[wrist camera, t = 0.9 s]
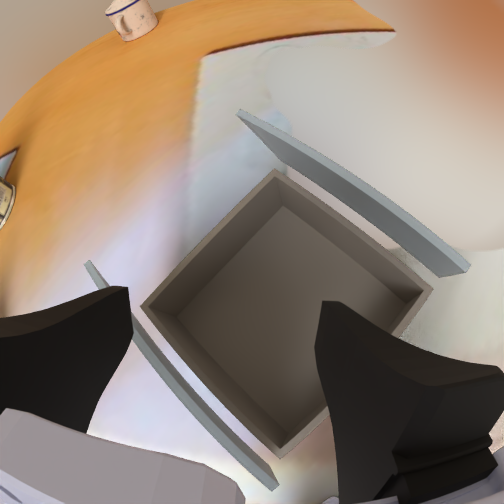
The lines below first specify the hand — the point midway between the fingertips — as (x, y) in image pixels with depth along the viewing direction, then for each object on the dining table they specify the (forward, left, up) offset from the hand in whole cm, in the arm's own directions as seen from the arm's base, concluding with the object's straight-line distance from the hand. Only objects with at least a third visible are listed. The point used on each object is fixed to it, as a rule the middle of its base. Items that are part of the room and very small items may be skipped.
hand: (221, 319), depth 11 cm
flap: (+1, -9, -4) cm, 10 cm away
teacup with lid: (+61, -23, -13) cm, 66 cm away
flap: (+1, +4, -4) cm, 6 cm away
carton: (+1, -2, -13) cm, 13 cm away
